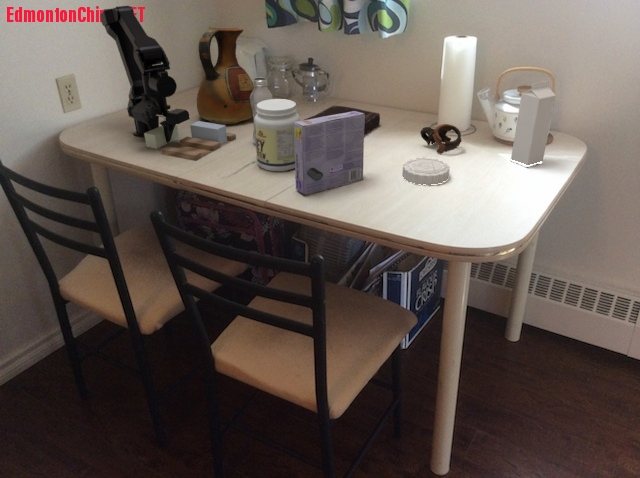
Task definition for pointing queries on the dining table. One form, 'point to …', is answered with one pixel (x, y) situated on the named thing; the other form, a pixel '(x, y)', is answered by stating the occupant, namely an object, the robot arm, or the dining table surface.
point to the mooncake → (425, 171)
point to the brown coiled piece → (441, 137)
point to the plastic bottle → (259, 97)
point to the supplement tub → (275, 134)
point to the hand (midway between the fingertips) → (162, 141)
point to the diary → (370, 117)
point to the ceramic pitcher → (223, 80)
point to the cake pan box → (329, 151)
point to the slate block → (209, 131)
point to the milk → (533, 124)
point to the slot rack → (195, 147)
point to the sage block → (159, 137)
